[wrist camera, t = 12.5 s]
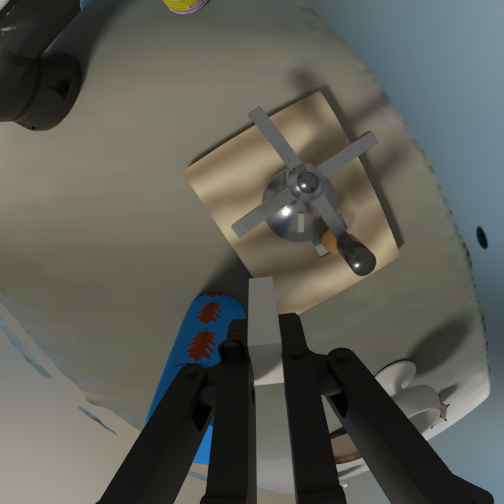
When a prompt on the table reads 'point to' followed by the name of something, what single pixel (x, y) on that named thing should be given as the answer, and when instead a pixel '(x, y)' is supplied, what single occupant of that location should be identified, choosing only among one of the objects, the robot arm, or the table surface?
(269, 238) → the stand base
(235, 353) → the robot arm
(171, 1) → the supplement bottle
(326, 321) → the table surface
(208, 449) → the thermos
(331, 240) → the ball
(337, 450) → the plant saucer
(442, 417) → the game die
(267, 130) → the grey cross
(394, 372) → the chalice
